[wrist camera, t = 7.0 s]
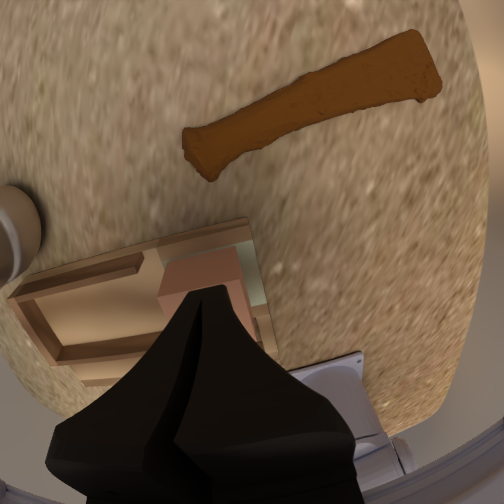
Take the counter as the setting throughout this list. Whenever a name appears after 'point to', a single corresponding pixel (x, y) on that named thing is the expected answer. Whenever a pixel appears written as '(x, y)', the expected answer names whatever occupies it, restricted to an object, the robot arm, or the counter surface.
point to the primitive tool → (318, 100)
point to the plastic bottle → (17, 233)
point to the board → (123, 302)
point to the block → (207, 282)
